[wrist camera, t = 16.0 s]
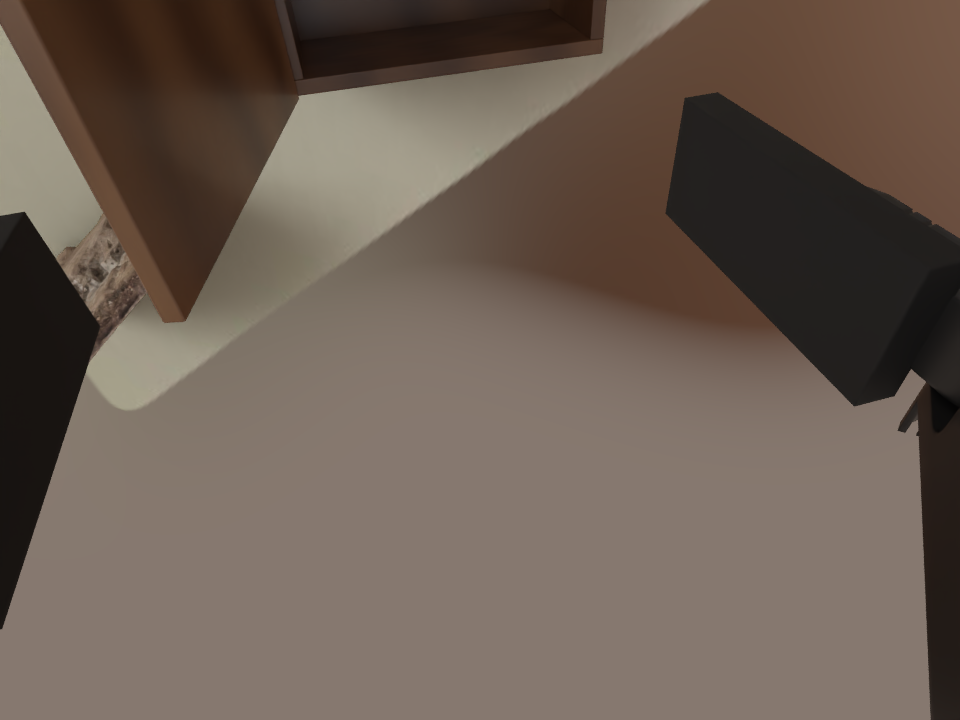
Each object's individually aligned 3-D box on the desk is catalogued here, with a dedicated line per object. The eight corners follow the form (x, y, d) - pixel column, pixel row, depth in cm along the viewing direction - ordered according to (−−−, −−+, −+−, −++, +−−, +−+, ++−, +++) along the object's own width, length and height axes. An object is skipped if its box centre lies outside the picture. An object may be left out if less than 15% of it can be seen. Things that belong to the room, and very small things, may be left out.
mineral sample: (78, 311, 51) (24, 445, 40) (26, 285, 49) (-46, 421, 38) (199, 177, 46) (175, 290, 36) (148, 141, 44) (106, 250, 33)
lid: (-85, -206, 12) (-126, -203, 12) (186, 322, 21) (163, 323, 21) (221, -209, 26) (203, -208, 26) (299, 99, 36) (286, 100, 36)
